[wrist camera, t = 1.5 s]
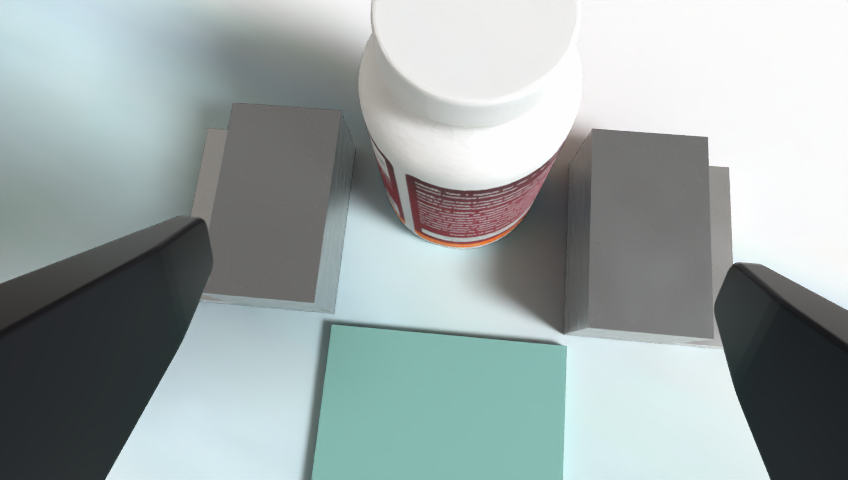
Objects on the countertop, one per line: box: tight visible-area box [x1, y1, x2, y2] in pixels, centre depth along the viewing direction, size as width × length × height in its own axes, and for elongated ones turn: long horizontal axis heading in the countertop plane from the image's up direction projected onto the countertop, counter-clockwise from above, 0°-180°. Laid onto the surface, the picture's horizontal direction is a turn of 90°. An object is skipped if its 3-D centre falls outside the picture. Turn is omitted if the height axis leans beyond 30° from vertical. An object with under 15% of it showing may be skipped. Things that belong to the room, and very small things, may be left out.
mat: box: [311, 324, 567, 480], centre depth 20 cm, size 9×9×1 cm
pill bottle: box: [358, 0, 582, 249], centre depth 17 cm, size 6×6×11 cm
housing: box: [191, 103, 733, 349], centre depth 20 cm, size 7×21×4 cm, turn 85°
